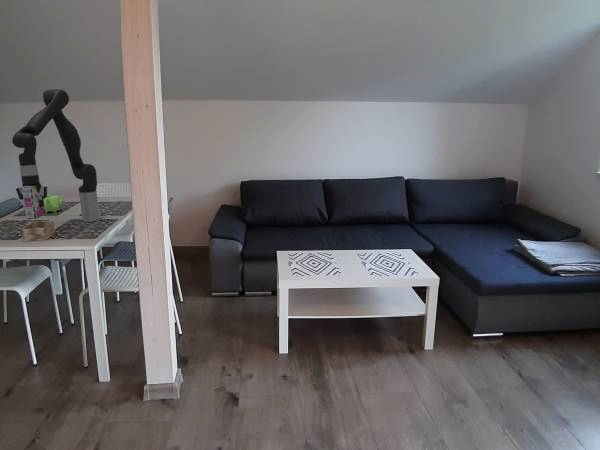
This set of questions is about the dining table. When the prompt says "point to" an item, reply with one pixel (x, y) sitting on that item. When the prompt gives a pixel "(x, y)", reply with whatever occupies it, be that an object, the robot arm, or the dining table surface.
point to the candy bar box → (32, 202)
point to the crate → (37, 231)
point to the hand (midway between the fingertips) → (34, 207)
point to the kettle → (52, 203)
